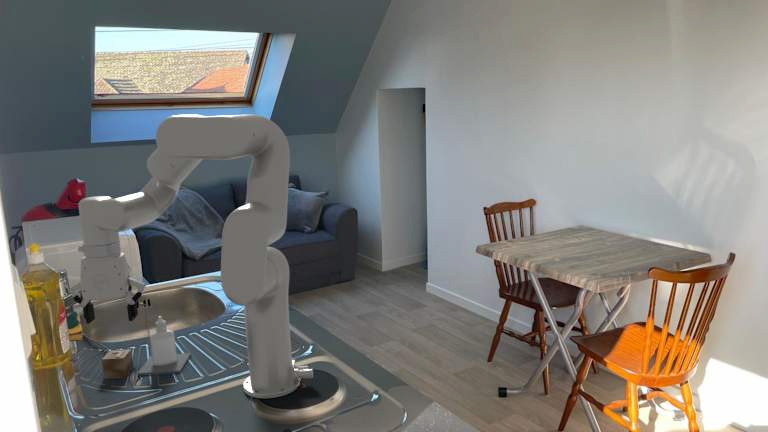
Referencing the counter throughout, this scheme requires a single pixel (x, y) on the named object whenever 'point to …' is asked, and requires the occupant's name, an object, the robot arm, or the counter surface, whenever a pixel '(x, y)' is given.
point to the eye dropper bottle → (163, 344)
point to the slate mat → (164, 366)
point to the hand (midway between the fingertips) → (111, 320)
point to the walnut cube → (117, 364)
